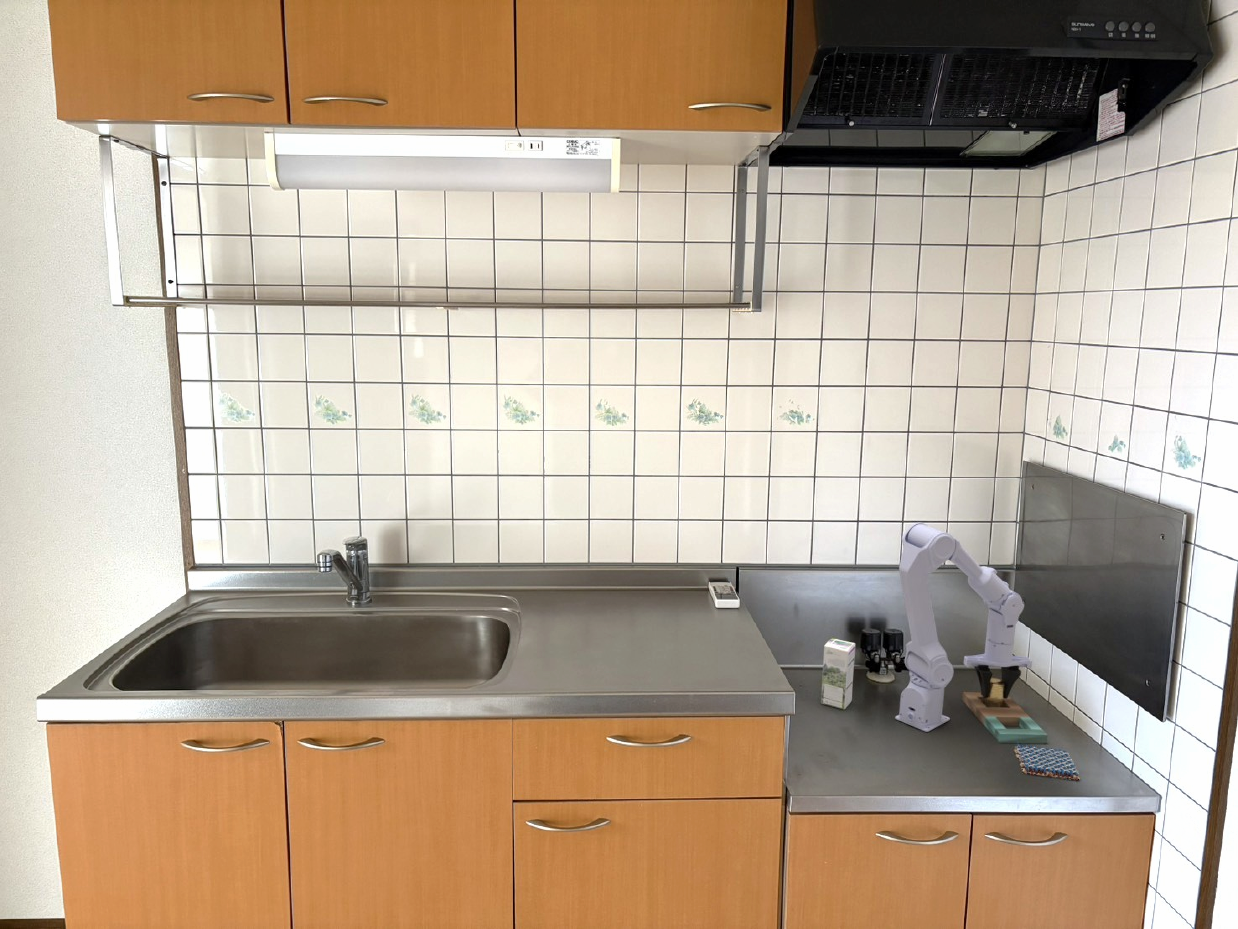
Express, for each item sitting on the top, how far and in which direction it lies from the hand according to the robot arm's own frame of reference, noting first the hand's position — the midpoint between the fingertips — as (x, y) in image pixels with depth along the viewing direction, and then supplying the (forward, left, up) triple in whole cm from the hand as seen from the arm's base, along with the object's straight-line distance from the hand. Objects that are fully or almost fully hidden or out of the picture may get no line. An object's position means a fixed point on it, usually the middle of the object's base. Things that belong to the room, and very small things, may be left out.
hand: (994, 696), depth 193 cm
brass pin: (0, 0, -3) cm, 3 cm away
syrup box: (-25, +24, -4) cm, 35 cm away
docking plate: (-3, -4, -3) cm, 6 cm away
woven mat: (-15, -18, -4) cm, 24 cm away
